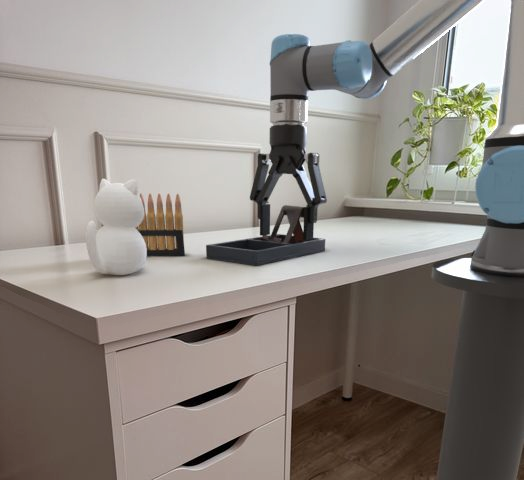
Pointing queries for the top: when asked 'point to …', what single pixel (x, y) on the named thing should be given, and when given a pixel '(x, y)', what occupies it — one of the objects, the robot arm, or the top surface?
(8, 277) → the top surface
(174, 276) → the top surface
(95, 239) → the cat figurine
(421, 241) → the top surface
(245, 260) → the divided tray
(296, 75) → the robot arm
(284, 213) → the tablet stand
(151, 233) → the ammunition clip
